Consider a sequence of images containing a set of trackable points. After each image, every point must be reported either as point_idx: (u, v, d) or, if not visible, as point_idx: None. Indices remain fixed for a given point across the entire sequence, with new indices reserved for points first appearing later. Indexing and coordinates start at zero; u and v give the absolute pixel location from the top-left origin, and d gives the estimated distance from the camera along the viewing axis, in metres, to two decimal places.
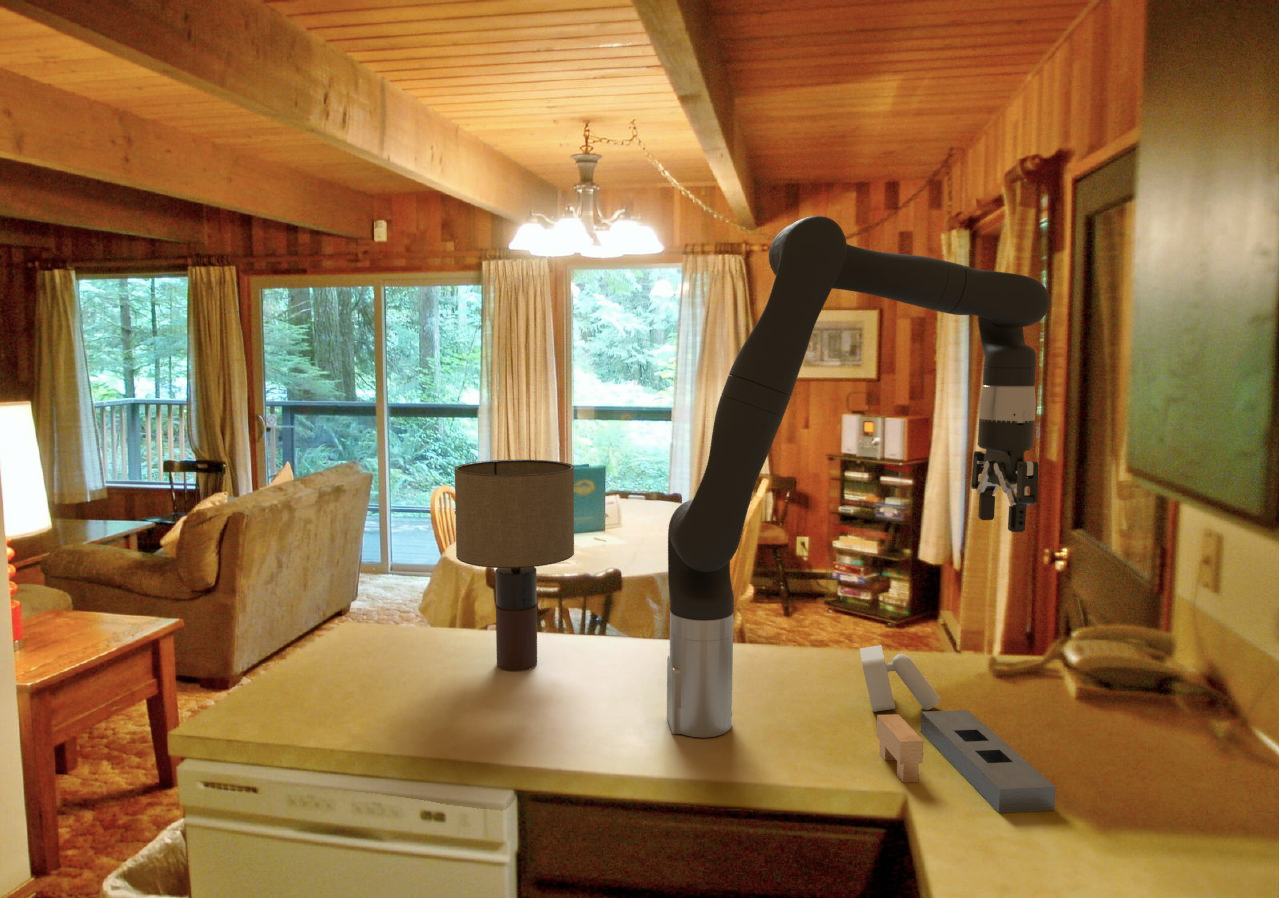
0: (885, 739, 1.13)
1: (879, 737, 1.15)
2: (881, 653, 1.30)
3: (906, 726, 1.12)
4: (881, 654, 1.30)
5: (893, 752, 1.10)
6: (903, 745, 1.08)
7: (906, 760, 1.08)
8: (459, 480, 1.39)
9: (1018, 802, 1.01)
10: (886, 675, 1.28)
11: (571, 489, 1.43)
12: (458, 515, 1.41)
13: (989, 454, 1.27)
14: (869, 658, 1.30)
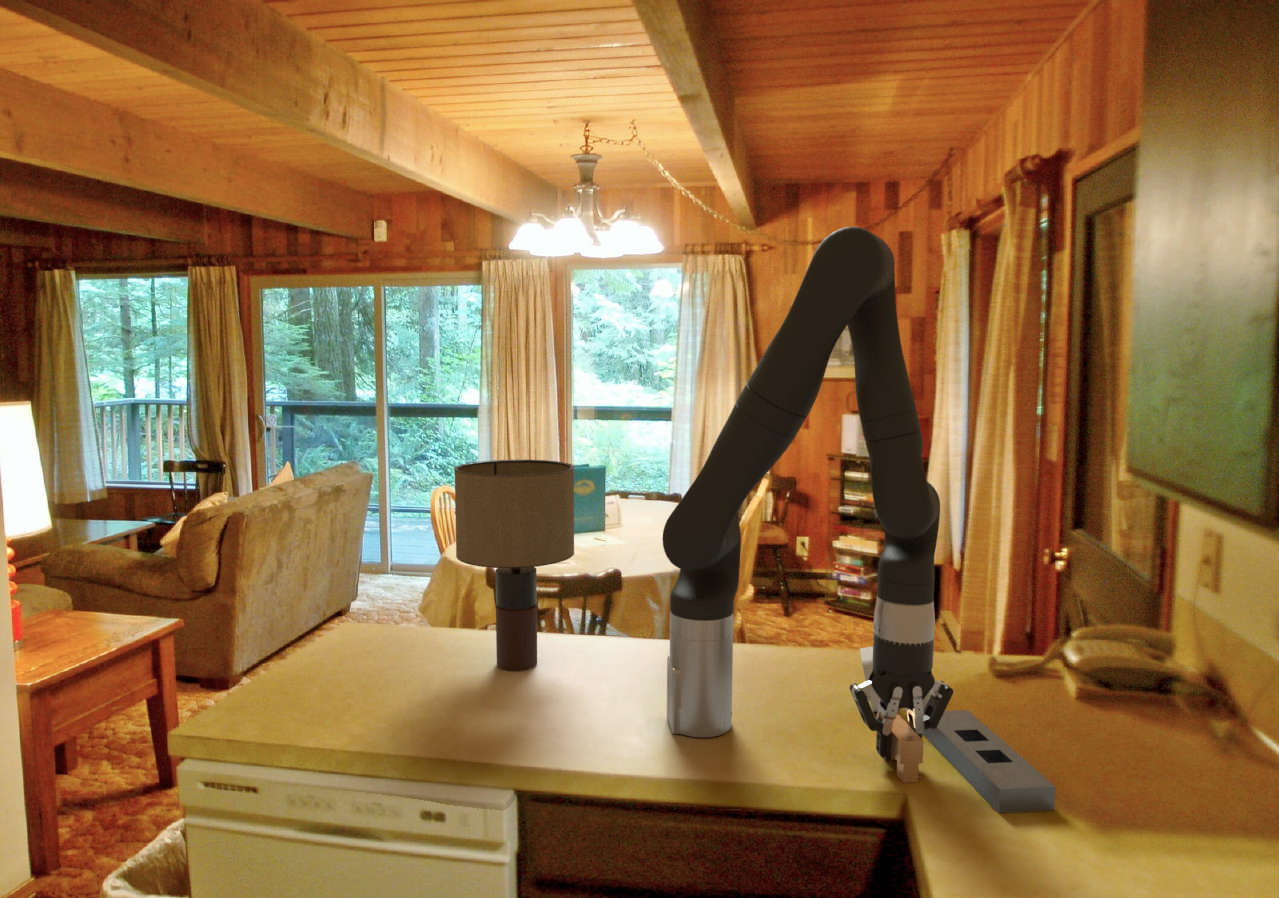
0: None
1: None
2: None
3: (906, 726, 1.12)
4: None
5: (893, 752, 1.10)
6: (903, 745, 1.08)
7: (906, 760, 1.08)
8: (459, 480, 1.39)
9: (1018, 802, 1.01)
10: None
11: (571, 489, 1.43)
12: (458, 515, 1.41)
13: (885, 676, 1.09)
14: (869, 658, 1.30)
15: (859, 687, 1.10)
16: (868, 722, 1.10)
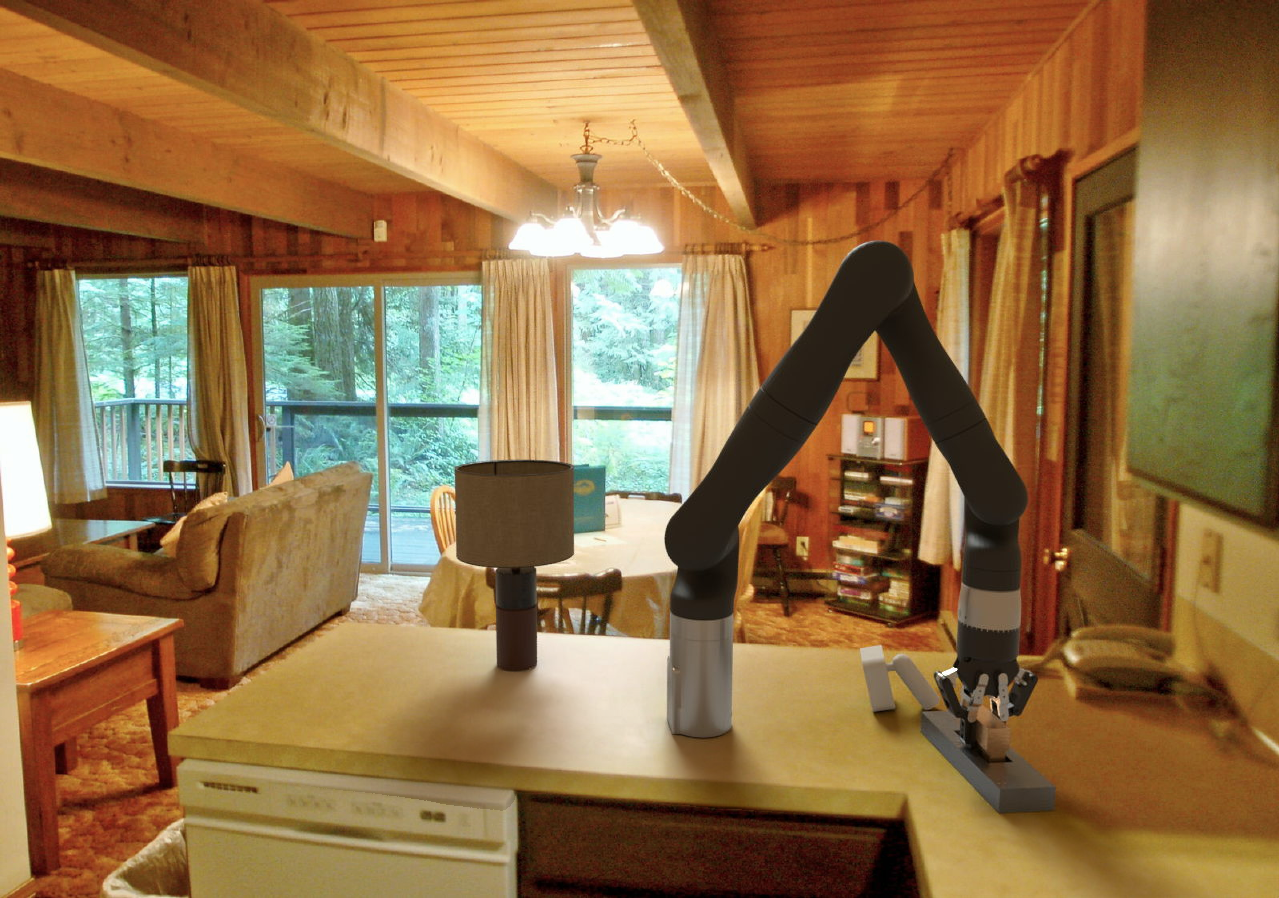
0: None
1: None
2: (881, 653, 1.30)
3: (990, 714, 1.12)
4: (881, 654, 1.30)
5: (978, 740, 1.10)
6: (990, 733, 1.07)
7: (993, 747, 1.08)
8: (459, 480, 1.39)
9: (1018, 802, 1.01)
10: (886, 675, 1.28)
11: (571, 489, 1.43)
12: (458, 515, 1.41)
13: (970, 663, 1.09)
14: (869, 658, 1.30)
15: (944, 674, 1.10)
16: (953, 709, 1.10)
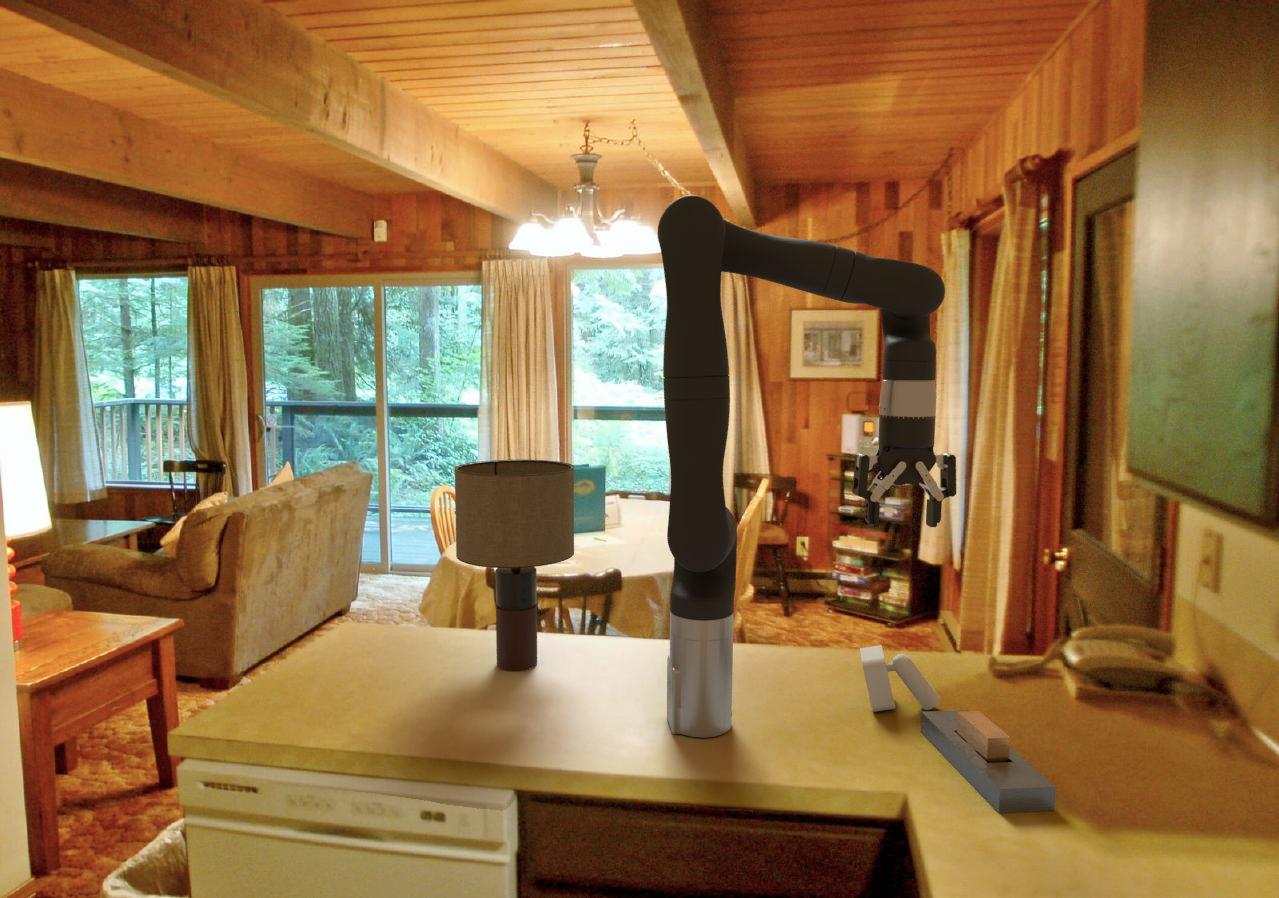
0: (968, 736, 1.12)
1: (960, 734, 1.15)
2: (881, 653, 1.30)
3: (989, 723, 1.12)
4: (881, 654, 1.30)
5: (978, 749, 1.10)
6: (990, 742, 1.08)
7: (993, 757, 1.08)
8: (459, 480, 1.39)
9: (1018, 802, 1.01)
10: (886, 675, 1.28)
11: (571, 489, 1.43)
12: (458, 515, 1.41)
13: (892, 455, 1.18)
14: (869, 658, 1.30)
15: None
16: (857, 489, 1.18)
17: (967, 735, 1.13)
